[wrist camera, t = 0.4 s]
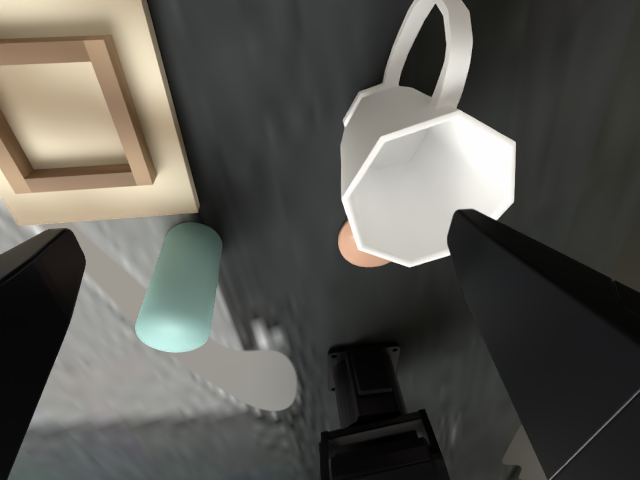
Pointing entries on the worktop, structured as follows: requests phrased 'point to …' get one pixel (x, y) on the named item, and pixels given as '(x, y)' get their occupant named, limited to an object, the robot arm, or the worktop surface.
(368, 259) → the peach flat disc
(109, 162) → the board
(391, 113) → the cup
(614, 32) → the worktop surface
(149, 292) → the peg
